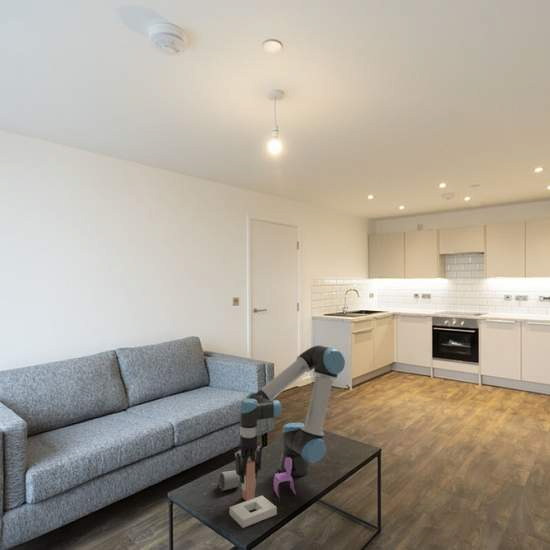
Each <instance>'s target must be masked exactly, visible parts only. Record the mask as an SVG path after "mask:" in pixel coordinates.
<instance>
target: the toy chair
mask: <svg viewBox="0 0 550 550" xmlns="http://www.w3.org/2000/svg"><path fill="white" fill-rule="evenodd" d="M284 467H285V469H286V472H284V473H281V472H280V473H279V472H277V473H274V476H273V490H274V492H275V494H276V496H277V498H280V496H279V492H278V487H279V484H280V483H283V482H289V486H290V487H289V488H290V489H291V491H292V492H293V493H294V494H295V495H297V493H296V490H295V487H294V486H295V485H294V479H293V476H291V470H292V459H291V458H289V457H287V458H285V464H284Z"/></svg>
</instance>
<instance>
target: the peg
mask: <svg viewBox="0 0 550 550" xmlns="http://www.w3.org/2000/svg"><path fill="white" fill-rule="evenodd" d="M245 475H246V491H244V490H242V489H241V490H242V493H241V494H242V497H241V498H243V499H244V501H248V500H251V499H254V498H256V494H255V492H256V479H255V462H254V461H252V460H251V459H250V458H248V460H247V463H246V470H245Z"/></svg>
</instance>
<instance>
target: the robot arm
mask: <svg viewBox="0 0 550 550" xmlns="http://www.w3.org/2000/svg"><path fill="white" fill-rule="evenodd" d="M345 361H346V360H345V357H344V355H343V353H342V352H341V351H340V350H338V349H336V348H333V347H328V346H324V345H314V346H311V347H309V348H307V349H306V350H304V351H303V352H302V353H300V354H299V355H298V356H297V357H296V360H294V362H293V363H291V364H290V365H288V367H286V368H285V369H284V370H282V371H281V372H279V374H278V375H276V376H274V378H272V380H270V381H269V382H268V383H266V384H265V385H264V386H263V387H261V388H260V389H259V390H258V391H256V392H251V393H248V394H247V396H246V398H244V399H242V400H241V401H240V406H239V408H240V409H239V414H240V415H239V417H240V418H239V419H240V426H239V428H240V432H239V433H240V436H239V440H240V441H239V442H240V443H239V444H240V447H239V450H238V451H234V457H235V471H236V474H237V475H239V476H240V484H241V490H244V491H246V475H245V470H246V463H247V460H248V459H251V460H252V461H254V462H255V480H257V478H258V473H259V471H260V470H261V469H262V452H263V447H262V446H260V445H258V421H262V420H269V419H274V418H278V417H280V416H281V415H282V413H283V410H282V409H283V407H282V404H281V402H280V401H279V400H278V399H275V398H276V397H277V396H279V394H281V393H283V391H285V389H287V388H288V387H289V386H291V385H292V384H293V383H294V382H296V381H297V380H298V379H299V378H300V377H301V376H303V375H304V374H305V373H310V372H311V371H312V370H313V373H314V375H315V379H314V384H313V389H312V391H311V392H312V393H311V397H310V400H309V405H308V410H307V415H306V418H305V423H303V422H289V423H285V424H284V425H283V427H282V432H281V434H282V455H281V457H280V462H279V468H278V469H279V470H278V471H279V472H280V473H284V472H286V469H285V467H284V464H285V458H287V457H289V458H291V459H292V470H291V477H302V476H304V475H305V476H306V475H307V474H308V473H309V472H310V465H309V463H311V464H313V463H314V464H315V463H317V462H319V461H320V460H322V459H323V457H324V456H325V454H326V452H327V446H326V442H325V440H324V438H325V433H324V430H323V429H324V428H323V426H324V423H325V418H326V415H327V414H326V413H327V408H328V405H329V400H330V397H331V390H332V386H333V382H334V380H336V379H337V378H338V374H341V373H342V371H344V368H345V363H346V362H345Z"/></svg>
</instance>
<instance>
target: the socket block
mask: <svg viewBox="0 0 550 550" xmlns="http://www.w3.org/2000/svg"><path fill="white" fill-rule="evenodd" d="M277 508H278V507H277V506H276V505H274V504H273V502H271V501H270V500H269V499H267V498H266V497H264V495H259V496H257V497H256V496H255V498H254V499H251V500H248V501H246V500H244V501H242V502H240V503H237V504H234V505H231V506H229V512H228V513H229V516H230V517H231V518H232V519H233V520H234V521H235V522H237V524H238V525H239V526H240V527H241V528H242V529H243V528H247V527H249V526H251V525H253V524H256V523H259V522H261V521H263V520H267V519H269V518H271V517H274V516H276V515H277V514H278V513H277V512H278V511H277V510H278V509H277ZM253 510H255V511H253ZM250 511H252V512H250Z"/></svg>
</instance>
